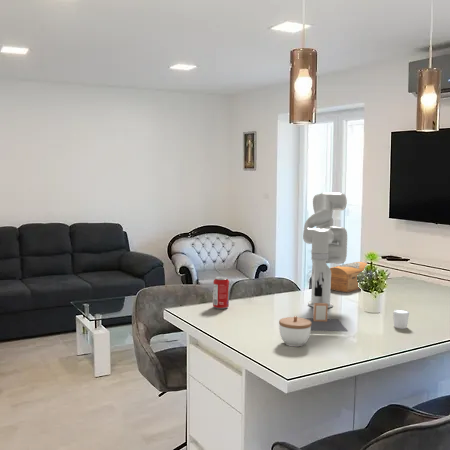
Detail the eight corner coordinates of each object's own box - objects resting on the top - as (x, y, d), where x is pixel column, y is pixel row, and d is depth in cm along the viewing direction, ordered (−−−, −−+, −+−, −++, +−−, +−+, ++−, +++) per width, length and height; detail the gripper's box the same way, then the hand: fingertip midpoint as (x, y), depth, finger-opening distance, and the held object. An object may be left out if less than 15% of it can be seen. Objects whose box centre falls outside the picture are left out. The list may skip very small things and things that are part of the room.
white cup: (410, 326, 249) (410, 310, 249) (406, 329, 243) (407, 314, 243) (394, 323, 253) (395, 308, 252) (390, 327, 247) (391, 311, 246)
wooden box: (348, 281, 350) (349, 260, 349) (372, 285, 339) (373, 263, 338) (322, 288, 328) (323, 265, 327) (347, 293, 317) (348, 269, 316)
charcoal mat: (298, 319, 256) (299, 318, 256) (337, 320, 257) (338, 318, 257) (305, 331, 237) (305, 330, 237) (347, 332, 237) (347, 331, 237)
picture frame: (313, 320, 254) (313, 302, 253) (326, 320, 254) (326, 303, 253) (313, 321, 251) (314, 303, 251) (327, 321, 251) (327, 304, 251)
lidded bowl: (316, 344, 220) (317, 316, 219) (298, 351, 211) (299, 322, 210) (290, 337, 228) (291, 310, 227) (272, 343, 219) (272, 316, 218)
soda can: (210, 308, 273) (211, 278, 271) (215, 305, 280) (216, 275, 279) (225, 310, 270) (226, 279, 269) (230, 306, 277) (231, 277, 276)
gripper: (309, 254, 264) (307, 292, 265) (314, 258, 249) (312, 299, 250) (324, 255, 264) (323, 293, 265) (331, 259, 249) (329, 299, 250)
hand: (318, 296), depth 258 cm, fingers closed
